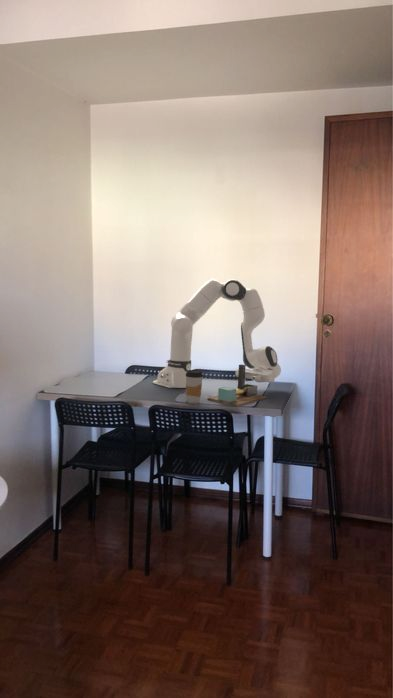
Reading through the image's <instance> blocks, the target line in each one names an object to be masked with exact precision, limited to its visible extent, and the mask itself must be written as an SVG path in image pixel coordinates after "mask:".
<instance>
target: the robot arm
mask: <svg viewBox="0 0 393 698" xmlns="http://www.w3.org/2000/svg"><path fill="white" fill-rule="evenodd" d="M220 298H223V299H225V300H227V301H230V302H235V301H237V302H239V303H240V305H241V308H242V309H241V310H242V313H243V318H242V320H243V321H242V322H241V325H240V333H241V343H242V361H243V365H246V366H245V367H247V368H245V379H250V380H253V381H255V382H256V383H275V379H277V378H278V377H279V376H280V375H281V372H282V368H281V366H280V364H279V363H278V355H277V352H276V351H275V349H274V348H273V347H271V346H269V345H268V346H267V345H266V346H264V347H259V348H255V349H253V348H254V347H253V340H252V339H253V338H252V334H253V331H254V329H255V328H257V327H258V326H259V325H260V324H262V322H263V321H264V319H265V314H266V313H265V309H264V305H263V302H262V299H261V297H260V293H259V292H258V290H256V289H255V288H246V287H245V286H244V285H243V284H242V283H241V282H240V281H239V280H237V279H228V280H226V281H225V282H223V283H222V282H220V281H219V280H217V279H215V278H211V279H209V280H208V281H206V282H205V283H204V284H203V285H202V286H201V287H200V288H199V289H198V290H197V291H196V292H195V293H194V294H193V295H192V297H191V298H189V300H188V301H187V302H186V303H185V304H184V305H183V306H182V307H181V308H180V310H178V311H177V313H176V314H175V315H174V316H173V317H172V319H171V321H170V325H171V337H170V338H171V339H170V358H169V359H167V360H166V363H167V366H165V367H164V368H162V370H160V371H159V372H158V374H157V379H155V380H153V381H152V384H155V385H158V386H161V387H166V388H168V389H169V388H170V389H171V388H173V389H174V388H175V389H176V388H179V389H183V388H185V389H186V373H187V371H188V370H192V360H191V356H192V341H193V327H194V325H195V324H196V323H197V322H198V321H200V319H201V318H202V317H203V316H204V315H206V313H207V312H208V311H209V310H210V309H211V307H212V306H213V305H215V303H216V302H217V300H219V299H220ZM238 372H239V368H237V369H235V377H236V378H238Z"/></svg>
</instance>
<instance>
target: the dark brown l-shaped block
mask: <svg viewBox="0 0 393 698" xmlns="http://www.w3.org/2000/svg"><path fill="white" fill-rule="evenodd" d="M246 367H247V366H246V365H245V364H241V363H240V364H238V369H239V372H238V377H237V386H238V389H237V388H235V389H236V396H237V395H241V394H245V393H246V392H247V388H248V387H245V388H244V386H245V384H246V382H245V381H246V378H245V369H246ZM249 387H251V386H249Z"/></svg>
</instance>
